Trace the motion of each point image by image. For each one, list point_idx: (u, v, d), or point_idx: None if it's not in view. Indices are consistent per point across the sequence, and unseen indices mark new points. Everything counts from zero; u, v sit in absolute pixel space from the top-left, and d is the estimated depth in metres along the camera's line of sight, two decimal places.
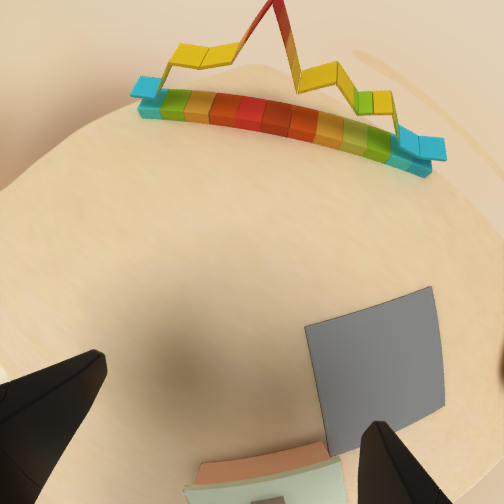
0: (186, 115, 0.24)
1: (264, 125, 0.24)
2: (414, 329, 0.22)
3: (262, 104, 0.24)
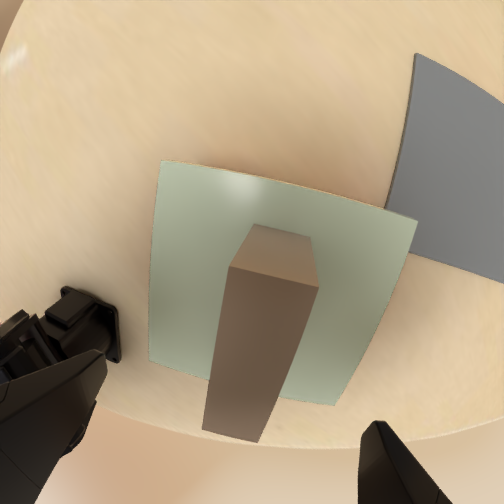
0: None
1: None
2: None
3: None
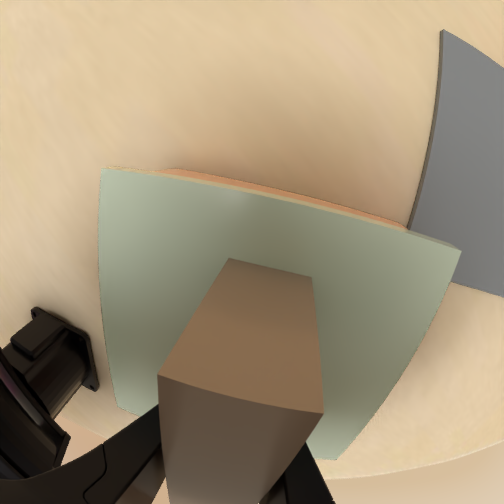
0: None
1: None
2: None
3: None
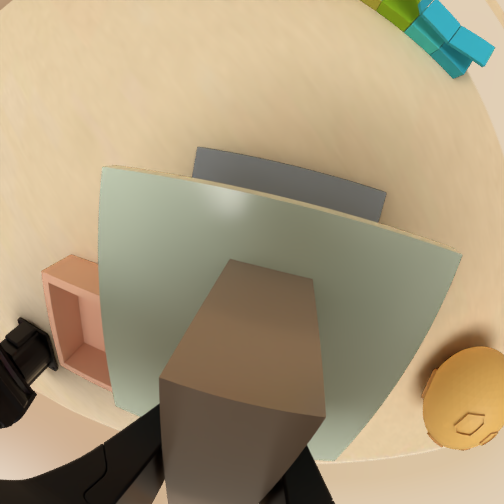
0: None
1: None
2: None
3: None
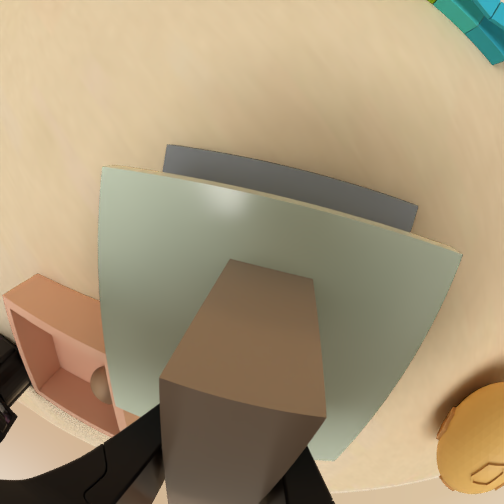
0: None
1: None
2: None
3: None
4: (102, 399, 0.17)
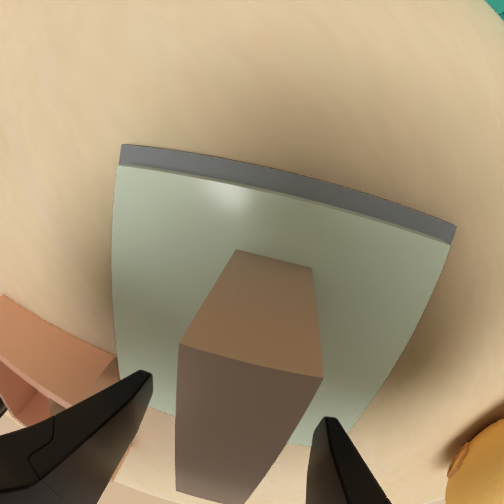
0: None
1: None
2: None
3: None
4: (49, 408, 0.13)
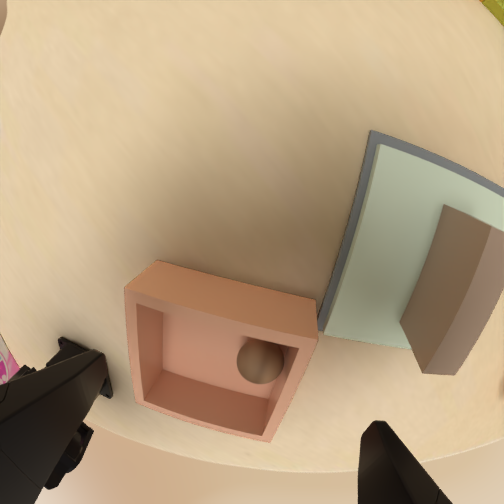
0: None
1: None
2: None
3: None
4: (262, 354, 0.17)
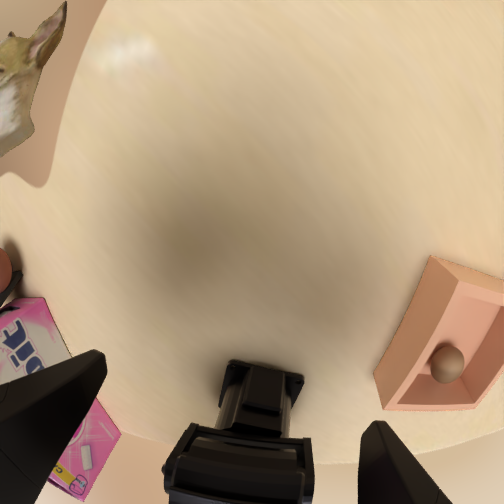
0: None
1: None
2: None
3: None
4: (434, 362, 0.18)
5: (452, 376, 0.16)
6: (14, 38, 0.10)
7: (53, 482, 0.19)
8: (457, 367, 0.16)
